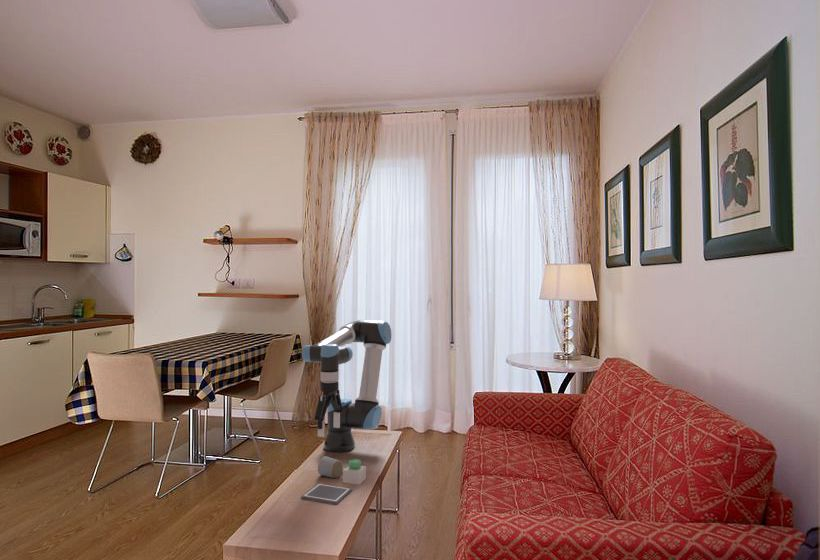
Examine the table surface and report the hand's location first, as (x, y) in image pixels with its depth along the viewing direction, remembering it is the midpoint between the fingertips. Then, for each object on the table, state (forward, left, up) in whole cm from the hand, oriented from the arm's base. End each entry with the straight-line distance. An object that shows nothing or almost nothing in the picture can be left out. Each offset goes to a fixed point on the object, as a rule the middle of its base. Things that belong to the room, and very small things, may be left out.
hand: (329, 431), depth 204 cm
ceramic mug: (-2, 0, -19) cm, 19 cm away
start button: (0, +12, -13) cm, 18 cm away
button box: (0, +12, -19) cm, 22 cm away
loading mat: (+16, +8, -19) cm, 26 cm away
